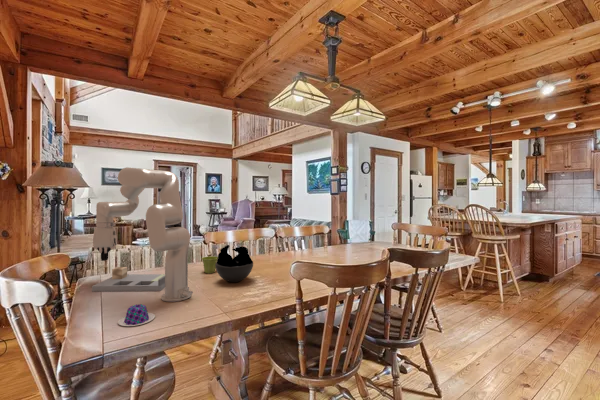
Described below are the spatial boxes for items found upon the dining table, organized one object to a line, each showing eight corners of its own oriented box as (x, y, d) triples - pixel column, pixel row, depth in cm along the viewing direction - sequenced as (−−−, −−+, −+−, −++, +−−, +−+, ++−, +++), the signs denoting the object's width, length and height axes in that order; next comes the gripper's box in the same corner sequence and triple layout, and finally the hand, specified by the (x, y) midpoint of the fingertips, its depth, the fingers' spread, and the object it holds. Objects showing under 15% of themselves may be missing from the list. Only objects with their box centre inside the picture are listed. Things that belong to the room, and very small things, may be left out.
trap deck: (176, 278, 164) (176, 268, 164) (160, 290, 143) (160, 279, 143) (117, 278, 162) (117, 268, 162) (91, 291, 141) (91, 279, 141)
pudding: (160, 320, 110) (160, 306, 110) (124, 331, 101) (124, 316, 101) (147, 311, 118) (147, 298, 118) (113, 321, 109) (113, 306, 109)
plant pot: (201, 270, 181) (201, 256, 181) (217, 269, 184) (217, 255, 184) (201, 274, 172) (201, 259, 172) (218, 273, 175) (218, 259, 175)
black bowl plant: (257, 284, 154) (257, 248, 154) (217, 288, 147) (217, 250, 146) (249, 274, 173) (249, 242, 172) (213, 278, 165) (213, 244, 165)
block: (127, 276, 159) (127, 267, 159) (122, 278, 154) (122, 269, 154) (117, 276, 158) (117, 267, 158) (112, 279, 153) (112, 269, 153)
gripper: (123, 224, 159) (123, 258, 160) (94, 224, 159) (94, 258, 159) (115, 226, 152) (115, 262, 152) (85, 225, 151) (85, 261, 152)
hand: (104, 260), depth 156 cm, fingers closed
